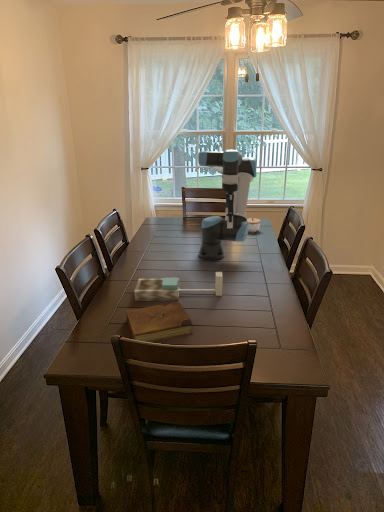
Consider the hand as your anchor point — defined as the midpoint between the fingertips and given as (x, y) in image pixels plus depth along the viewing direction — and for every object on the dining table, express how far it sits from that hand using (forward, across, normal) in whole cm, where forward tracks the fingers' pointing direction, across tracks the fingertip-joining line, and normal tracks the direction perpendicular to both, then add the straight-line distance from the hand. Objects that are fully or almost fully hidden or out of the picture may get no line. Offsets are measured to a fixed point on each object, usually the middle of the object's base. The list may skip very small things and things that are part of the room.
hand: (228, 223), depth 192 cm
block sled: (+26, +26, -19) cm, 41 cm away
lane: (+27, +26, -35) cm, 51 cm away
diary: (+27, +54, -32) cm, 69 cm away
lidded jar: (+27, -67, +22) cm, 76 cm away
